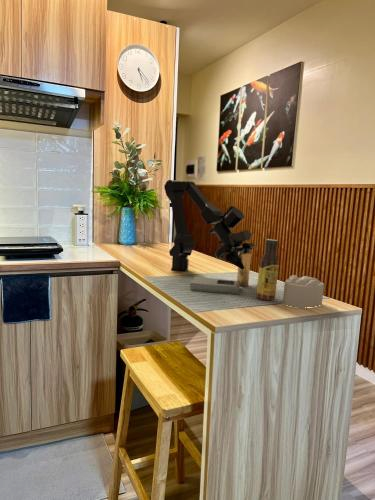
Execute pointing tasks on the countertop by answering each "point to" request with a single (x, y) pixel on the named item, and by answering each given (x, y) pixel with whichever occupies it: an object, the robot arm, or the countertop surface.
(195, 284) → the plate
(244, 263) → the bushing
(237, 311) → the countertop surface
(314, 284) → the lumpy-topped squat cylinder
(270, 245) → the sauce bottle
